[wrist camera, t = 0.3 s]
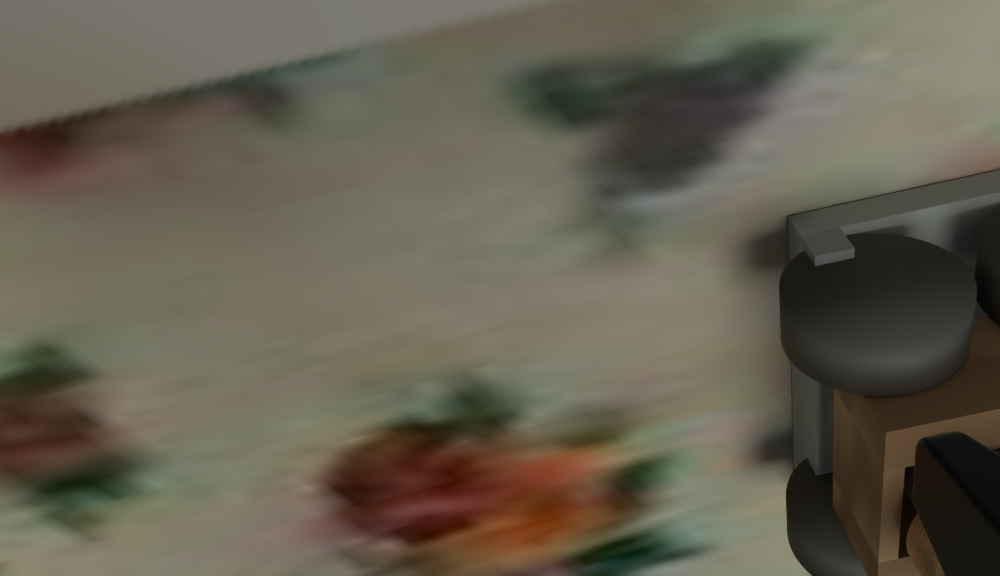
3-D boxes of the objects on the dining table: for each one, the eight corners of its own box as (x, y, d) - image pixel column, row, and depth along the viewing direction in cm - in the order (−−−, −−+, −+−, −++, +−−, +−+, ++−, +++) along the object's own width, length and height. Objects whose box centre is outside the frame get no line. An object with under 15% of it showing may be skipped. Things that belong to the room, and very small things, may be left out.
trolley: (1061, 433, 29) (1178, 571, 25) (767, 494, 29) (830, 639, 25) (1116, 176, 24) (1278, 294, 19) (755, 254, 24) (833, 388, 20)
